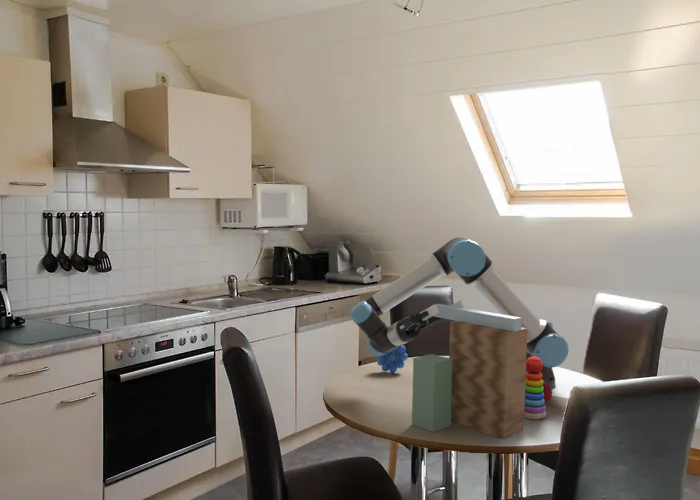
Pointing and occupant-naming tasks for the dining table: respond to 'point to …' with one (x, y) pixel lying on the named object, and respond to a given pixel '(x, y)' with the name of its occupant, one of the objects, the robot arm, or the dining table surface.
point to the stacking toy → (534, 390)
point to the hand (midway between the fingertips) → (449, 306)
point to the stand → (488, 378)
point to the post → (432, 392)
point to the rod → (479, 317)
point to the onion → (547, 392)
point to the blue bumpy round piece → (393, 359)
